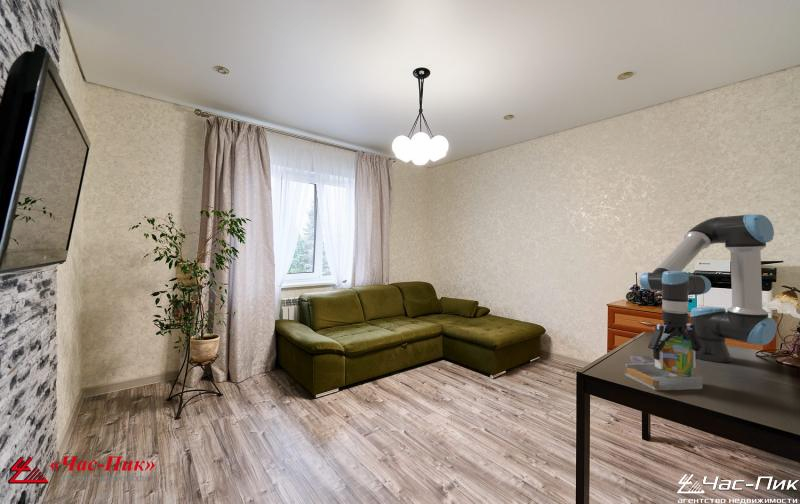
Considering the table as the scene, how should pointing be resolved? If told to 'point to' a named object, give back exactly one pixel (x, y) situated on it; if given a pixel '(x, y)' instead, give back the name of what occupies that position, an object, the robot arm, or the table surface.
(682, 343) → the chalk box
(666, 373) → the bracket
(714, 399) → the table surface
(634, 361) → the rock
